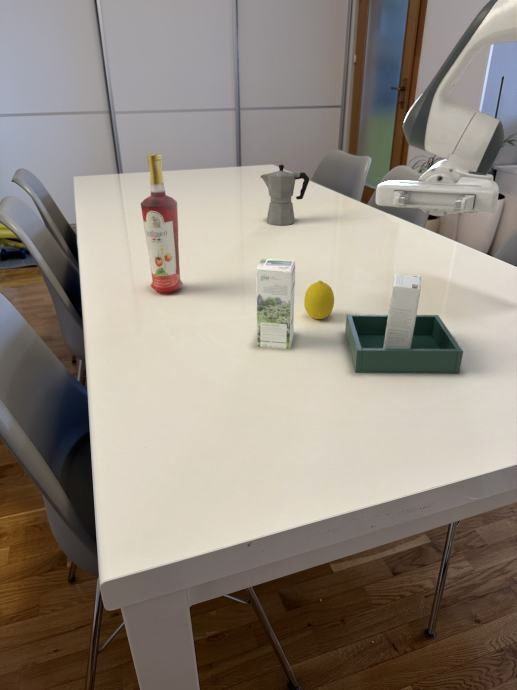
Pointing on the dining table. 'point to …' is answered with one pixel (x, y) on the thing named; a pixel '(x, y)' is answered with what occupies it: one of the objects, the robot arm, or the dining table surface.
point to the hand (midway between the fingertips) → (428, 204)
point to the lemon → (319, 300)
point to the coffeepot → (282, 195)
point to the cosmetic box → (402, 311)
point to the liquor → (161, 232)
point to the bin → (424, 356)
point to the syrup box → (275, 303)
